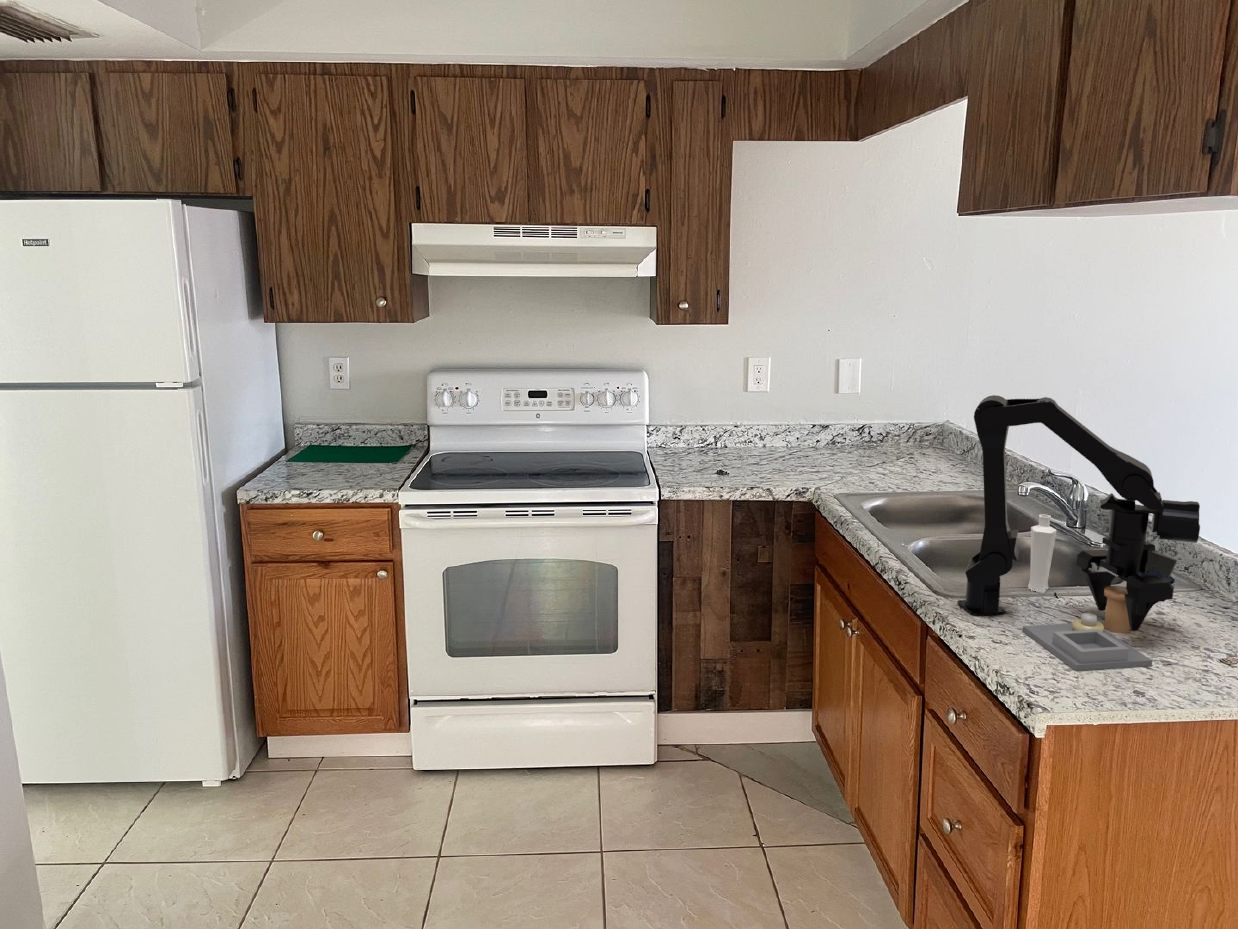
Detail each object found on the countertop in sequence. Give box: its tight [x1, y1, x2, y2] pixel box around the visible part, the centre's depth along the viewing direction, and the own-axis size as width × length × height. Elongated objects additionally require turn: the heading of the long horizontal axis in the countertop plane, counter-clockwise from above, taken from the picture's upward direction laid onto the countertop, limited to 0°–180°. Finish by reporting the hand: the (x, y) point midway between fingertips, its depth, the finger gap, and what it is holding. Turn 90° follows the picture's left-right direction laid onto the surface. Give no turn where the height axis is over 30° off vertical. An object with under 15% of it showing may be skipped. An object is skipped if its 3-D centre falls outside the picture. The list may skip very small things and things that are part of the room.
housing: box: [1022, 612, 1153, 672], centre depth 160 cm, size 16×13×4 cm
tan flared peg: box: [1103, 585, 1131, 634], centre depth 167 cm, size 5×5×7 cm
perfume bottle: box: [1027, 513, 1057, 594], centre depth 186 cm, size 5×4×15 cm
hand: (1117, 620), depth 168 cm, fingers open, 9 cm apart
